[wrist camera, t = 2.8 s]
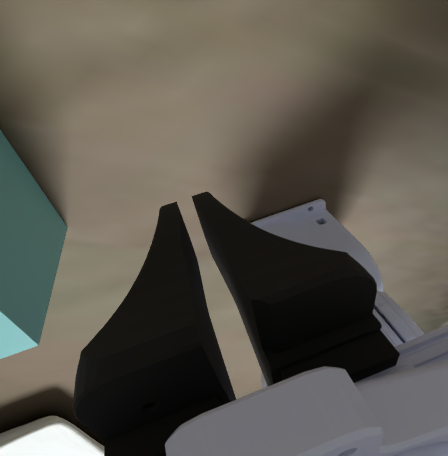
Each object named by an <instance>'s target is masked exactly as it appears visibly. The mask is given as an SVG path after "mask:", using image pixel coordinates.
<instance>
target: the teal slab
mask: <svg viewBox="0 0 448 456" xmlns="http://www.w3.org/2000/svg"><path fill="white" fill-rule="evenodd" d="M66 231H67V226H66V224H65V223H64V221H63V220H62V218H61V217H60V216H59V214H58V213H57V211H56V210H55V208H54V207H53V205H52V204H51V203H50V201H49V200H48V198H47V197H46V195H45V194H44V192H43V191H42V189H41V188H40V187H39V185H38V184H37V182H36V181H35V179H34V178H33V176H32V175H31V173H30V172H29V171H28V169H27V168H26V166H25V165H24V163H23V162H22V160H21V159H20V157H19V156H18V155H17V153H16V152H15V150H14V149H13V147H12V146H11V144H10V143H9V142H8V140H7V139H6V137H5V136H4V134H3V133H2V131H1V130H0V359H2V358H5V357H7V356H10V355H13V354H16V353H18V352H21V351H24V350H27V349H30V348H32V347H35V346H38V345H39V342H40V338H41V333H42V329H43V325H44V321H45V317H46V313H47V309H48V305H49V301H50V297H51V293H52V289H53V284H54V280H55V276H56V272H57V268H58V264H59V260H60V256H61V252H62V248H63V244H64V239H65V235H66Z"/></svg>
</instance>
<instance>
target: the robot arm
mask: <svg viewBox="0 0 448 456" xmlns="http://www.w3.org/2000/svg"><path fill="white" fill-rule="evenodd" d="M192 199H193V202H194V205H195V208H196V211H197V214H198V217H199V220H200V223H201V226H202V229H203V232H204V236H205V238H206V241H207V244H208V246H209V249H210V252H211V254H212V257H213V259H214V261H215V263H216V265H217V267H218V269H219V270H220V272H221V274H222V276H223V278H224V280H225V282H226V284H227V286H228V288H229V290H230V292H231V294H232V296H233V298H234V300H235V303H236V305H237V307H238V310H239V313H240V315H241V318H242V320H243V323H244V325H245V328H246V331H247V333H248V336H249V338H250V341H251V344H252V346H253V349H254V352H255V354H256V357H257V359H258V362H259V365H260V367H261V370H262V374H261V382H262V388H263V389H261V390H259V391H256V392H254V393H251V394H249V395H246V396H244V397H241V398H239V399H237V400H236V397H235V394H234V391H233V388H232V385H231V382H230V379H229V376H228V373H227V370H226V367H225V364H224V360H223V357H222V354H221V351H220V348H219V345H218V342H217V338H216V335H215V332H214V329H213V326H212V323H211V319H210V316H209V312H208V308H207V304H206V299H205V295H204V290H203V285H202V280H201V275H200V271H199V266H198V261H197V258H196V255H195V252H194V249H193V246H192V243H191V240H190V237H189V234H188V232H187V229H186V226H185V223H184V221H183V218H182V215H181V213H180V210H179V207H178V205H177V202H174V203H171V204H168V205H165V206H162V207H161V208H160V211H159V218H158V223H157V227H156V231H155V234H154V238H153V241H152V244H151V247H150V250H149V252H148V255H147V258H146V260H145V262H144V265H143V267H142V269H141V271H140V273H139V275H138V277H137V279H136V281H135V282H134V284H133V286H132V287H131V289H130V291H129V293H128V294H127V296H126V297H125V299H124V300H123V302H122V303H121V305H120V306H119V307H118V309H117V310H116V312H115V313H114V314H113V315H112V317H111V318H110V319H109V321H108V322H107V323H106V324H105V325H104V327H103V328H102V329H101V330H100V331H99V332H98V333H97V335H96V336H95V337H94V338H93V339H92V340H91V341H90V342H89V344H88V345H87V346H86V347H85V348H84V349H83V350H82V351H81V355H80V360H79V364H78V368H77V374H76V381H75V390H74V400H73V413H74V417H75V418H76V419H77V420H78V421H79V422H80V423H81V424H83V425H84V426H85V427H87V428H88V429H90V430H91V431H93V432H94V433H96V434H97V435H99V436H100V437H102V438H103V439H105V447H104V456H448V325H446V326H444V327H441V328H439V329H436V330H434V331H432V332H429V333H427V334H424V333H423V332H422V330H421V329H420V328H419V327H418V326H417V325H416V324H415V322H414V321H413V320H412V319H411V318H410V317H409V316H408V315H407V314H406V313H405V312H404V310H403V309H402V308H401V307H400V306H399V305H398V304H397V303H396V302H395V301H394V300H393V299H392V298H391V297H389V296H388V295H387V294H386V293H385V292H383V283H382V278H381V275H380V272H379V269H378V267H377V265H376V263H375V262H374V260H373V258H372V256H371V255H370V253H369V252H368V251H367V250H366V248H365V247H364V246H363V245H362V244H361V243H360V242H359V241H358V240H357V239H356V238H355V237H354V236H353V235H352V234H351V233H350V232H349V231H348V230H347V229H346V228H345V227H344V226H343V225H341V224H340V223H339V222H338V221H337V220H336V219H335V218H334V217H333V216H332V215H331V214H330V213H329V212H328V211H327V210H326V202H325V201H324V200H323V199H318V200H315V201H312V202H309V203H306V204H303V205H300V206H298V207H295V208H292V209H289V210H286V211H283V212H280V213H277V214H274V215H271V216H269V217H266V218H263V219H260V220H257V221H254V222H251V223H250V222H248V221H246V220H244V219H243V218H241V217H240V216H238V215H237V214H235V213H234V212H232V211H231V210H229V209H228V208H227V207H225V206H224V205H223V204H221V203H220V202H219V201H218V200H217V199H215V198H214V197H213V196H212V195H211V194H210V193H209V192H204V193H201V194H198V195H195V196H192ZM309 207H311V208H310V209H308V208H309Z"/></svg>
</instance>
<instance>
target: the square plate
mask: <svg viewBox="0 0 448 456" xmlns="http://www.w3.org/2000/svg"><path fill="white" fill-rule="evenodd" d="M0 456H104V446H103V445H101V444H100V443H98V442H97V441H95V440H94V439H93V438H91V437H90V436H88V435H87V434H86V433H84V432H83V431H82V430H80V429H79V428H78V427H76V426H75V425H73V424H72V423H70V422H68V421H67V420H65V419H63V418H61V417H58V416H47V417H44V418H41V419H38V420H35V421H33V422H30V423H28V424H25V425H23V426H19V427H16V428H13V429H11V430H8V431H6V432H3V433H1V434H0Z"/></svg>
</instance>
